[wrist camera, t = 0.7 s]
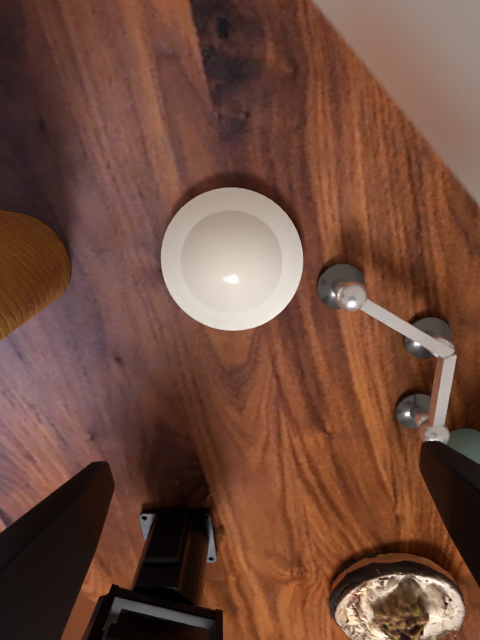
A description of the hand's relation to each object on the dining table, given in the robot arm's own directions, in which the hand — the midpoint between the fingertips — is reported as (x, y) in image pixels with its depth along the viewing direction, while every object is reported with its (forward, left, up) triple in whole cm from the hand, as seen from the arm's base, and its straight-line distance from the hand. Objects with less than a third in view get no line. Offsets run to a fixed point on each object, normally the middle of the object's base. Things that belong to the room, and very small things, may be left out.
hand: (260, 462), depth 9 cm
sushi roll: (-30, -12, -14) cm, 35 cm away
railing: (-3, -9, -13) cm, 16 cm away
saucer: (+4, +1, -13) cm, 14 cm away
